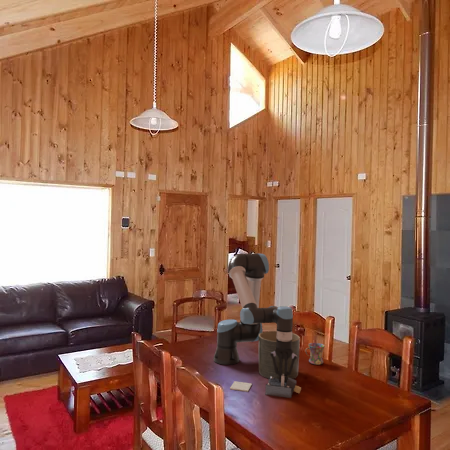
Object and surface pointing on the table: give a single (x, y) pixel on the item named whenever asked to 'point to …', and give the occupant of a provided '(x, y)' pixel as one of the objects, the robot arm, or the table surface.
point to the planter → (265, 360)
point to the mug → (315, 353)
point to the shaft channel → (277, 388)
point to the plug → (293, 385)
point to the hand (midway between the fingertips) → (282, 388)
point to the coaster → (241, 386)
